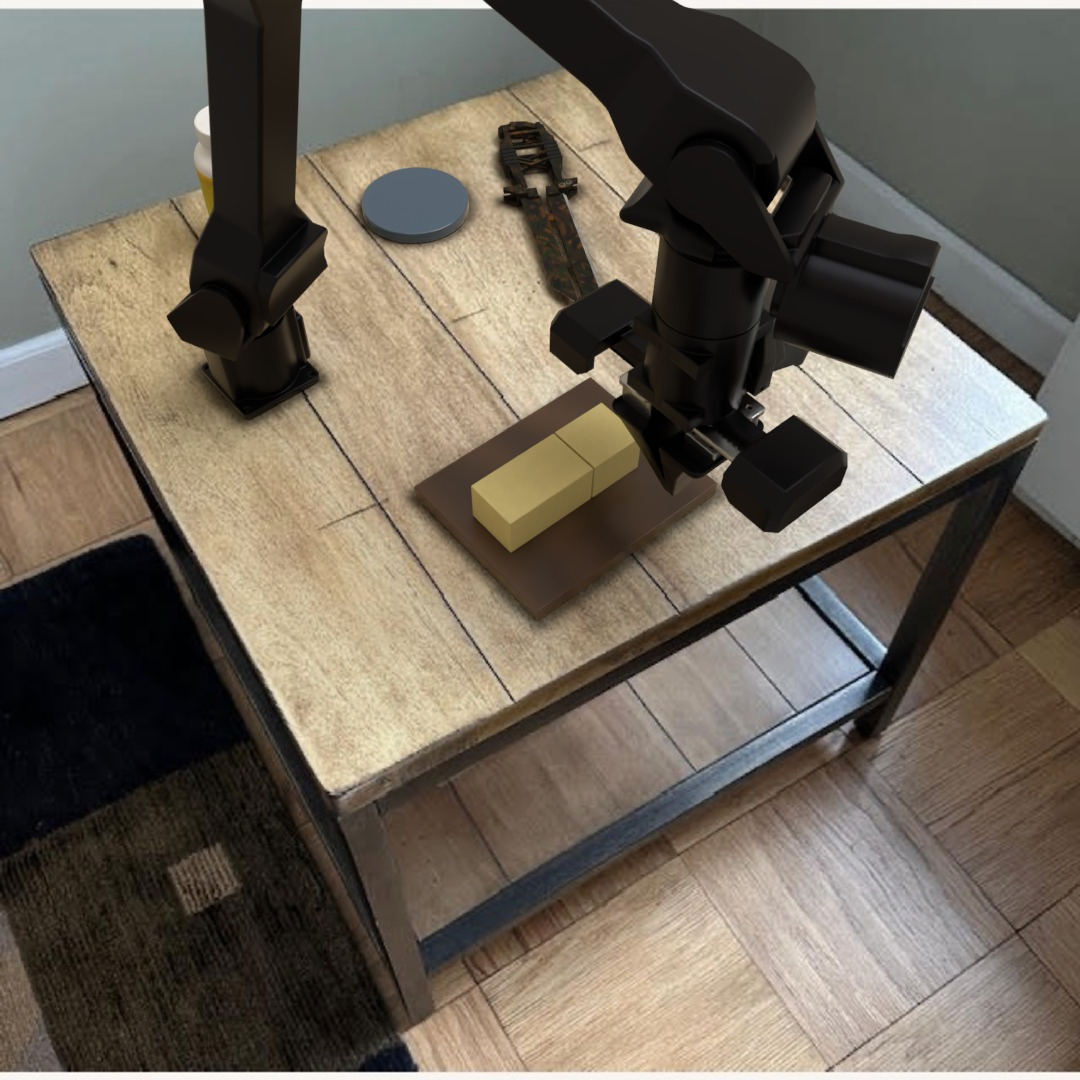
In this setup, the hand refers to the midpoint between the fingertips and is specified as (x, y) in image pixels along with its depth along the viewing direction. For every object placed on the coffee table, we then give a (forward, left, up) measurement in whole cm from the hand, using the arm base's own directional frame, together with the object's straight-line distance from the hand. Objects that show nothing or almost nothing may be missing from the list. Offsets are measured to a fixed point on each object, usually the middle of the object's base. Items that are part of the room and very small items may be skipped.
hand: (674, 489), depth 69 cm
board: (-3, +7, -5) cm, 9 cm away
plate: (+8, +38, -5) cm, 39 cm away
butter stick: (-6, +7, -4) cm, 10 cm away
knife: (+16, +30, -5) cm, 34 cm away
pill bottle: (-5, +44, -5) cm, 44 cm away
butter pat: (0, +7, -4) cm, 8 cm away
